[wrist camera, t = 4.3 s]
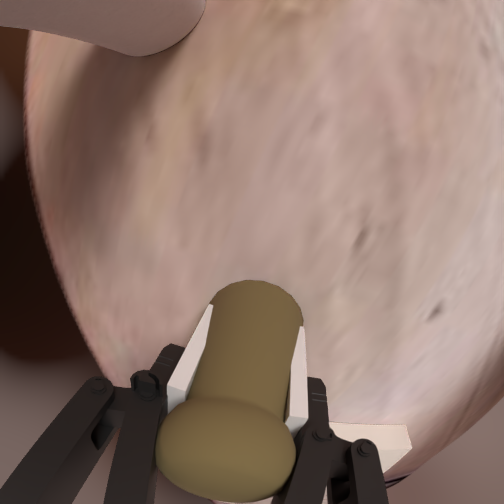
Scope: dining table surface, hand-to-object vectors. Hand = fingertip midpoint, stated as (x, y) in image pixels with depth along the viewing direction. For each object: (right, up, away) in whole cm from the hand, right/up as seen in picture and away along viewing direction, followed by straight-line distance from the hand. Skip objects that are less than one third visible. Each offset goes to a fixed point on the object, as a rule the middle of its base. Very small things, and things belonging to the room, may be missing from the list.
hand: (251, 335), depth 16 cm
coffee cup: (-6, +19, -4) cm, 21 cm away
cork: (0, 0, +1) cm, 1 cm away
